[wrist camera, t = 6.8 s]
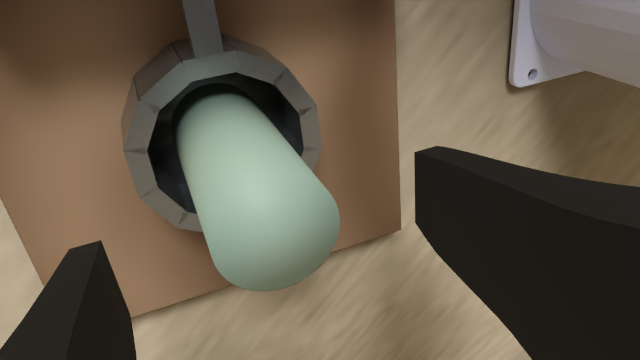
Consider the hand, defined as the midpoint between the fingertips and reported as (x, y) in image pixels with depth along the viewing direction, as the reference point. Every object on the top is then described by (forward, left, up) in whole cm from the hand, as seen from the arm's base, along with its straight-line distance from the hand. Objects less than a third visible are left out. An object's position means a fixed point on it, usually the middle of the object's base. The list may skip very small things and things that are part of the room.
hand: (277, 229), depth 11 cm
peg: (0, 0, -7) cm, 7 cm away
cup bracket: (0, 0, -8) cm, 8 cm away
